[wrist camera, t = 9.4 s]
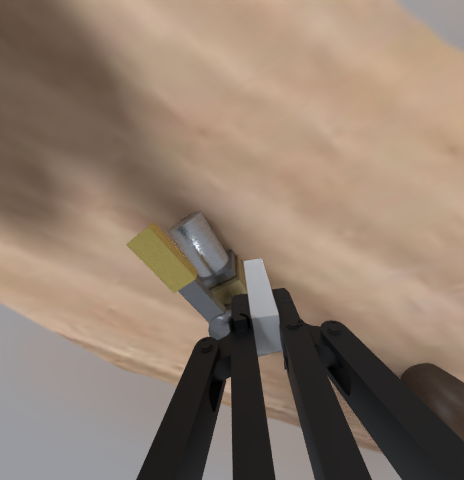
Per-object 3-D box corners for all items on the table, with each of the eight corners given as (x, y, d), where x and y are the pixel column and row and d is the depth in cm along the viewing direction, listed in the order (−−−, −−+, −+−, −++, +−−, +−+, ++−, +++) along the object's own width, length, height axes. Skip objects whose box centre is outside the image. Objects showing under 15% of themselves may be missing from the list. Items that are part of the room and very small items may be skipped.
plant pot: (380, 407, 48) (447, 523, 33) (378, 356, 42) (457, 468, 28) (455, 394, 46) (561, 510, 31) (463, 341, 41) (595, 449, 26)
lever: (253, 324, 28) (254, 334, 26) (224, 340, 29) (223, 351, 27) (159, 218, 23) (153, 222, 21) (128, 242, 24) (121, 248, 22)
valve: (168, 227, 33) (146, 253, 24) (208, 205, 32) (200, 225, 23) (244, 338, 41) (248, 387, 32) (279, 324, 40) (292, 371, 31)
